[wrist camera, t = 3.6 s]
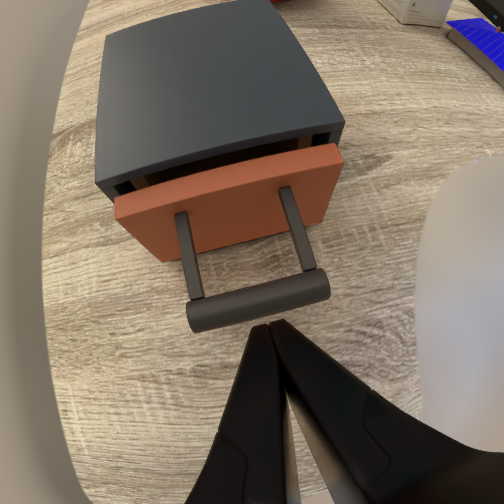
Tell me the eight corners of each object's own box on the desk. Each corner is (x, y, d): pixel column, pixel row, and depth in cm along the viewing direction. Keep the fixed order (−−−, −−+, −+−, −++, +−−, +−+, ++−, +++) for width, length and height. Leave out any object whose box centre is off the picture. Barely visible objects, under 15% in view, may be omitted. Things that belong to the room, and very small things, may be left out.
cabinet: (320, 203, 22) (346, 121, 14) (153, 245, 22) (94, 183, 13) (268, 77, 26) (266, -4, 18) (139, 109, 26) (105, 35, 17)
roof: (476, 28, 31) (487, 4, 25) (533, 80, 27) (548, 58, 22) (440, 34, 29) (452, 4, 24) (507, 96, 26) (527, 68, 21)
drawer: (347, 303, 19) (389, 276, 12) (178, 347, 19) (131, 343, 12) (270, 91, 25) (269, 22, 18) (144, 122, 24) (114, 59, 17)
